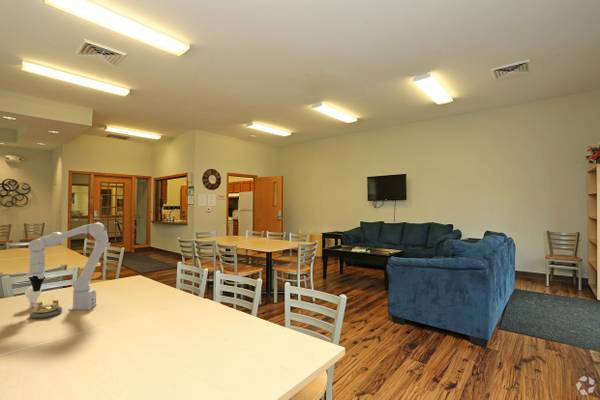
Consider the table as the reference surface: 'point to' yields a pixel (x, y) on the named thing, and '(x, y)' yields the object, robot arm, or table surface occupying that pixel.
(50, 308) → the brass lugged disc
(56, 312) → the cap base
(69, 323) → the table surface
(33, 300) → the lightbulb
